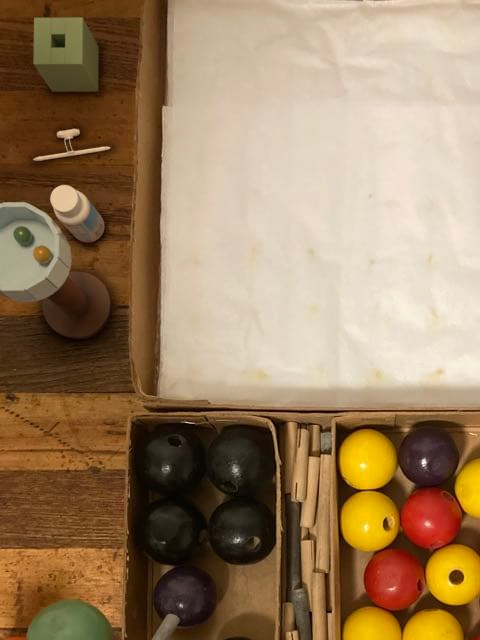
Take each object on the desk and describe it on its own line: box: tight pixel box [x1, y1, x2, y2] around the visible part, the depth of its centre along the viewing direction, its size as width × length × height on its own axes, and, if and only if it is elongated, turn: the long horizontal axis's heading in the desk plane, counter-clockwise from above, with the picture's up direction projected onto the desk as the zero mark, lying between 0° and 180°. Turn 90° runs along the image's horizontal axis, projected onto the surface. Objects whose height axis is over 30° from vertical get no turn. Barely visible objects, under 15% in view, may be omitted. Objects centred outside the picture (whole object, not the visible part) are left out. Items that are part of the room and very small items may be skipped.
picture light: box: [32, 128, 111, 162], centre depth 151 cm, size 14×4×2 cm, turn 100°
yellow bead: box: [33, 245, 52, 264], centre depth 127 cm, size 3×3×3 cm
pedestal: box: [41, 270, 113, 340], centre depth 140 cm, size 12×12×21 cm
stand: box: [32, 17, 100, 93], centre depth 149 cm, size 8×8×8 cm
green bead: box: [13, 226, 32, 244], centre depth 128 cm, size 3×3×3 cm
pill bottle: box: [49, 184, 105, 243], centre depth 146 cm, size 6×6×11 cm
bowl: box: [0, 201, 72, 303], centre depth 127 cm, size 13×13×5 cm
